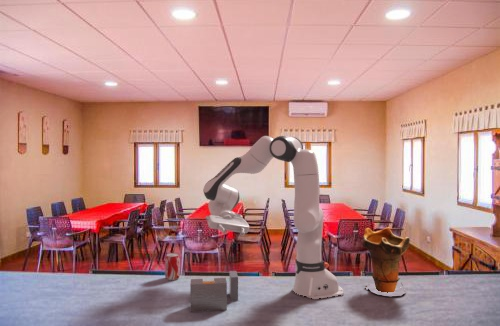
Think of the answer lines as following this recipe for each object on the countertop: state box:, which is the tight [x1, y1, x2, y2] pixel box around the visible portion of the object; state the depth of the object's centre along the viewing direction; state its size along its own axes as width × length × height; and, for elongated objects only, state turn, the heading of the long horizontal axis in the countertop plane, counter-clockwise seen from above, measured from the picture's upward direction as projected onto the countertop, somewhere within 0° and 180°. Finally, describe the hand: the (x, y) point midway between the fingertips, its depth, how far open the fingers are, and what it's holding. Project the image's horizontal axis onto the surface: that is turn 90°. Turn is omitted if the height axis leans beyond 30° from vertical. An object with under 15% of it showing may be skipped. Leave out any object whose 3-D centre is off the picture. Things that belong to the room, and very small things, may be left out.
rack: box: [189, 277, 228, 313], centre depth 147 cm, size 14×6×12 cm, turn 98°
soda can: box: [164, 252, 181, 282], centre depth 181 cm, size 7×7×12 cm
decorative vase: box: [362, 226, 410, 293], centre depth 166 cm, size 21×23×28 cm
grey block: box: [229, 270, 239, 302], centre depth 159 cm, size 3×8×10 cm, turn 7°
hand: (233, 233), depth 165 cm, fingers open, 8 cm apart
